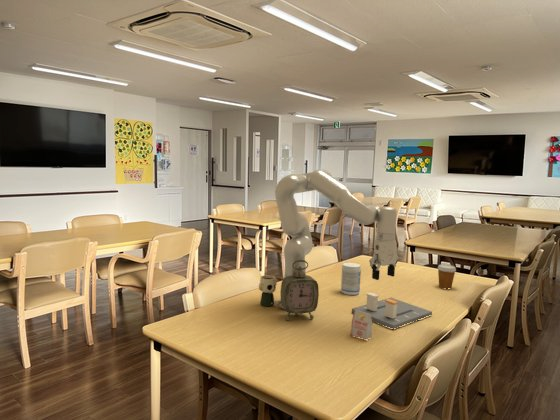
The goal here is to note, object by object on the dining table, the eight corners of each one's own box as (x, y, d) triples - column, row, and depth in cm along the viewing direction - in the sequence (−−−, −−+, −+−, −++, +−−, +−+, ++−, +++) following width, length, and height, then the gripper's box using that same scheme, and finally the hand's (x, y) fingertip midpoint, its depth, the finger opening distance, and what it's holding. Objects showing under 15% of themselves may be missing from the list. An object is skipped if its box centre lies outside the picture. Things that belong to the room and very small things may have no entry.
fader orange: (392, 319, 168) (393, 303, 168) (384, 315, 172) (385, 300, 171) (396, 317, 170) (398, 302, 169) (388, 314, 174) (389, 298, 173)
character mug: (264, 309, 179) (265, 281, 178) (253, 305, 184) (254, 277, 183) (281, 304, 187) (282, 276, 186) (270, 300, 192) (271, 273, 190)
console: (393, 330, 163) (393, 325, 163) (351, 312, 180) (352, 308, 180) (431, 316, 180) (432, 311, 180) (390, 301, 197) (390, 297, 197)
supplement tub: (362, 295, 204) (363, 267, 203) (343, 295, 203) (345, 267, 201) (355, 289, 214) (357, 262, 212) (338, 289, 213) (340, 262, 211)
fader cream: (373, 311, 176) (374, 296, 175) (365, 308, 180) (366, 293, 179) (377, 310, 178) (378, 295, 177) (369, 307, 181) (370, 292, 181)
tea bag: (355, 333, 159) (357, 308, 158) (371, 338, 155) (373, 312, 154) (350, 335, 156) (352, 310, 155) (366, 341, 152) (368, 315, 151)
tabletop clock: (284, 322, 166) (286, 263, 163) (278, 314, 175) (280, 257, 172) (317, 320, 170) (320, 262, 167) (310, 312, 178) (312, 256, 175)
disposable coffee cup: (457, 290, 219) (459, 269, 218) (439, 289, 219) (441, 268, 218) (450, 285, 229) (452, 264, 227) (433, 284, 229) (435, 263, 228)
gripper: (379, 240, 158) (376, 282, 160) (406, 236, 168) (403, 276, 170) (364, 237, 164) (362, 278, 166) (391, 233, 174) (389, 272, 176)
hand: (383, 277), depth 168 cm, fingers open, 9 cm apart
